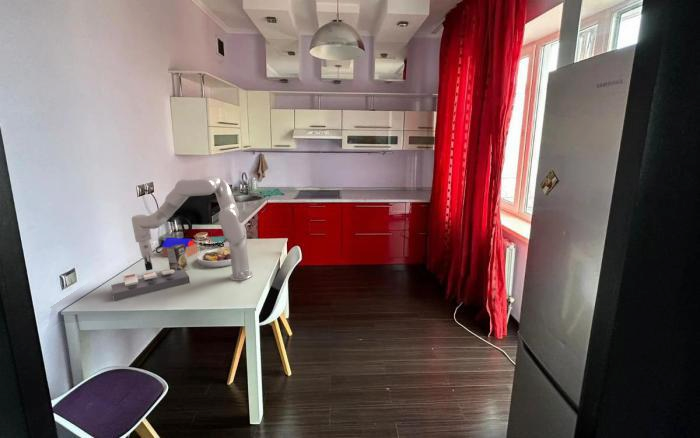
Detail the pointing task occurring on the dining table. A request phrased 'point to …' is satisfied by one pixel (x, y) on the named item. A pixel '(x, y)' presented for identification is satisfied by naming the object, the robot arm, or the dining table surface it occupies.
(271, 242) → the dining table surface
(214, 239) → the cutlery set
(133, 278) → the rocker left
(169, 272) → the rocker right
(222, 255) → the bowl
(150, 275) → the rocker middle
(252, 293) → the dining table surface
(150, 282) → the grey switch panel
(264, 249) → the dining table surface
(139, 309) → the dining table surface
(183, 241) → the house
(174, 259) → the coffee box
